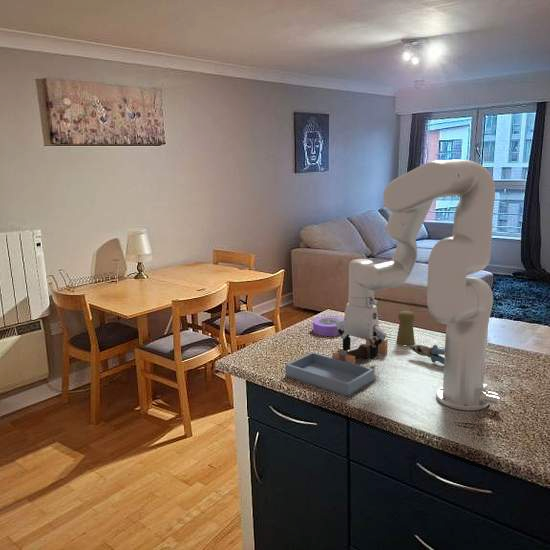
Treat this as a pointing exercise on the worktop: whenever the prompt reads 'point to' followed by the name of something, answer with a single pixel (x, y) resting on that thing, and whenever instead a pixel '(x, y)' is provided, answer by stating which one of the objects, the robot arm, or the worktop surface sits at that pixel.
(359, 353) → the bolt
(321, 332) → the masking tape
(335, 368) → the tray
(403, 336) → the cork
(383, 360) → the worktop surface
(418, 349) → the pliers
